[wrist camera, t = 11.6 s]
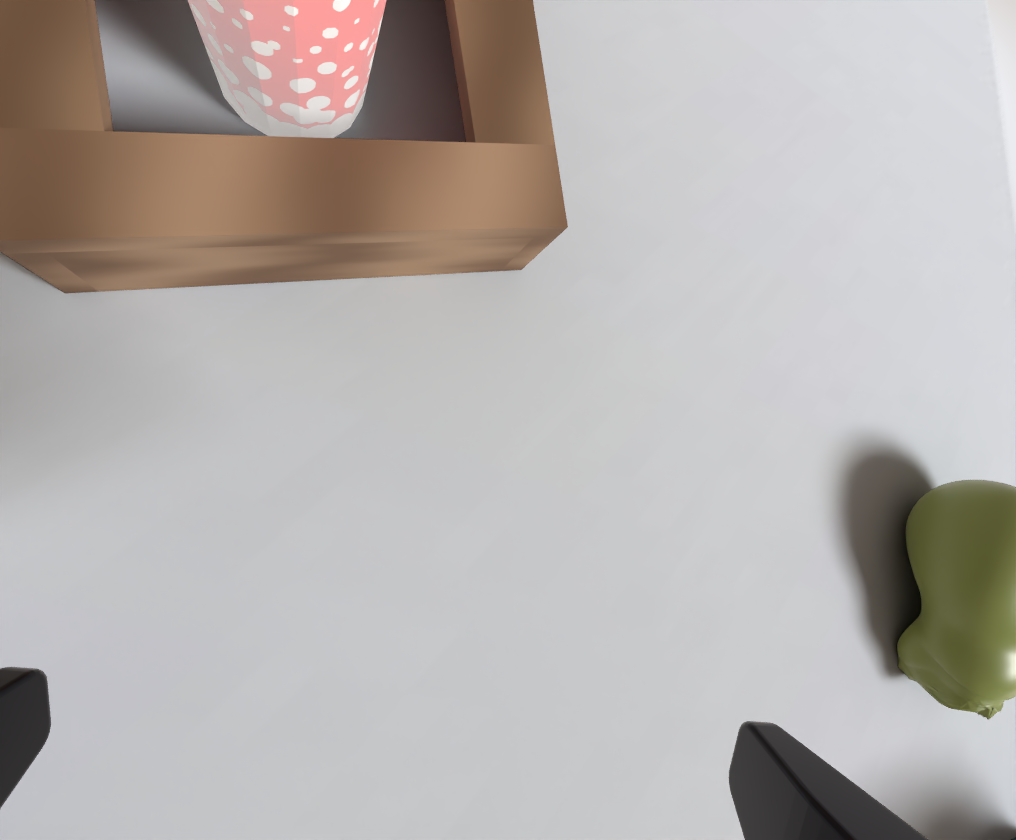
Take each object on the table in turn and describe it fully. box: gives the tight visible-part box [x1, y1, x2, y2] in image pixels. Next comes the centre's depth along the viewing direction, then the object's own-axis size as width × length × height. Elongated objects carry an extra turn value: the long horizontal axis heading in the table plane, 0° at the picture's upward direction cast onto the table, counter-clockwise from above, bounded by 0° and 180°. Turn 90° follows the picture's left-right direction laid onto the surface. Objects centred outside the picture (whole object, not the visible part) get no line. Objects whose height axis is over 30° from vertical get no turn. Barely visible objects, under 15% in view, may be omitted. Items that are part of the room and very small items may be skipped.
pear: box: [897, 480, 1016, 719], centre depth 24 cm, size 6×5×10 cm
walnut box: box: [0, 0, 568, 293], centre depth 16 cm, size 14×14×4 cm
